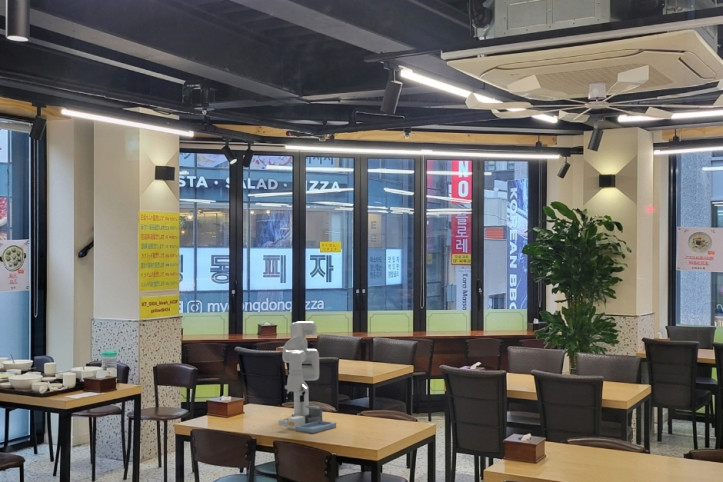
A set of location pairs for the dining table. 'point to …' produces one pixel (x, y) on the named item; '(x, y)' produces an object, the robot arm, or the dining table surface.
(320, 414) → the printer bay
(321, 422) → the tray
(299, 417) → the caddy
